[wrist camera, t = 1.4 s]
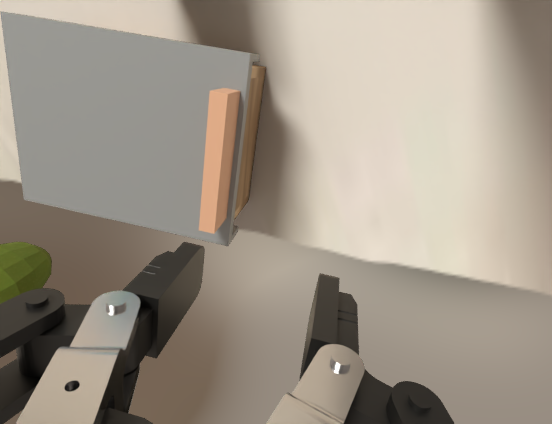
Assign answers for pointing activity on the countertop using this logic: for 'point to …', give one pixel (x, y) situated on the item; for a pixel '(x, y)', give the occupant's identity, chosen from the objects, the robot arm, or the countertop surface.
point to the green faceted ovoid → (22, 269)
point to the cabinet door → (128, 124)
